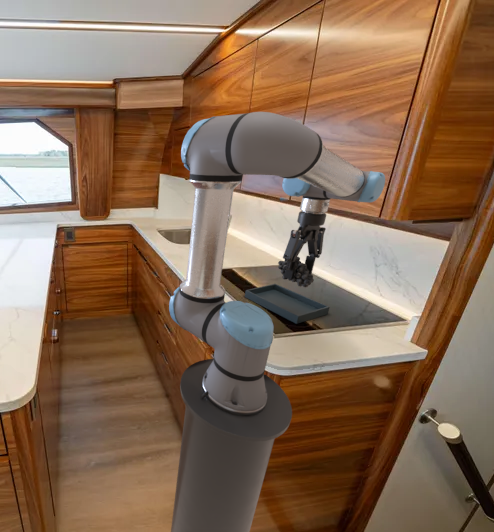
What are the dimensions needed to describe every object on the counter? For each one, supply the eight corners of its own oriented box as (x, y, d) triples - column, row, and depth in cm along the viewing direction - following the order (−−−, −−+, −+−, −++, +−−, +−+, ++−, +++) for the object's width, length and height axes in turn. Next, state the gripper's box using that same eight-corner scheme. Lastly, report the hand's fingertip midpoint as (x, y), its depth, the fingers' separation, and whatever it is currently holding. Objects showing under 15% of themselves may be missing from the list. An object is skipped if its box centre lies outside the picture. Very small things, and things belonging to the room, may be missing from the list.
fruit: (321, 265, 94) (296, 250, 108) (294, 272, 95) (272, 256, 109) (323, 289, 97) (298, 271, 111) (297, 295, 98) (275, 277, 112)
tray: (296, 324, 104) (298, 316, 103) (244, 296, 124) (245, 290, 123) (327, 314, 111) (329, 306, 110) (273, 289, 131) (275, 283, 129)
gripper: (301, 216, 89) (285, 285, 97) (346, 211, 97) (328, 275, 105) (279, 212, 95) (266, 277, 103) (323, 207, 103) (308, 268, 111)
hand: (297, 276), depth 104 cm, fingers closed on fruit, 9 cm apart
